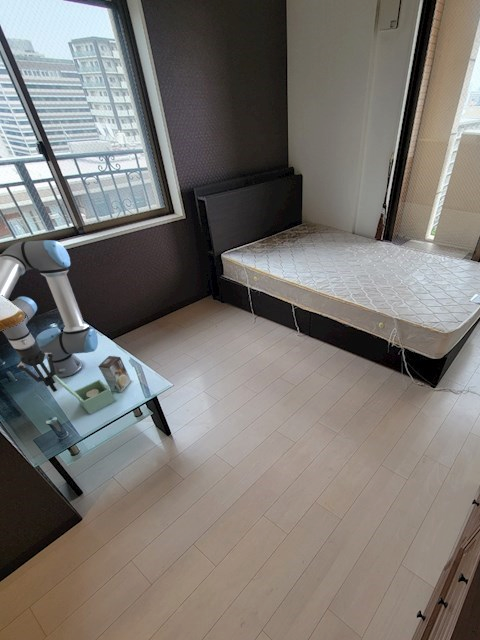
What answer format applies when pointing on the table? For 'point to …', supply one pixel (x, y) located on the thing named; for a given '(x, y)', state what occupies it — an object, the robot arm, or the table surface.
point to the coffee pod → (92, 393)
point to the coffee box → (115, 373)
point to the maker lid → (67, 388)
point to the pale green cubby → (97, 400)
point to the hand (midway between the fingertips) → (54, 389)
